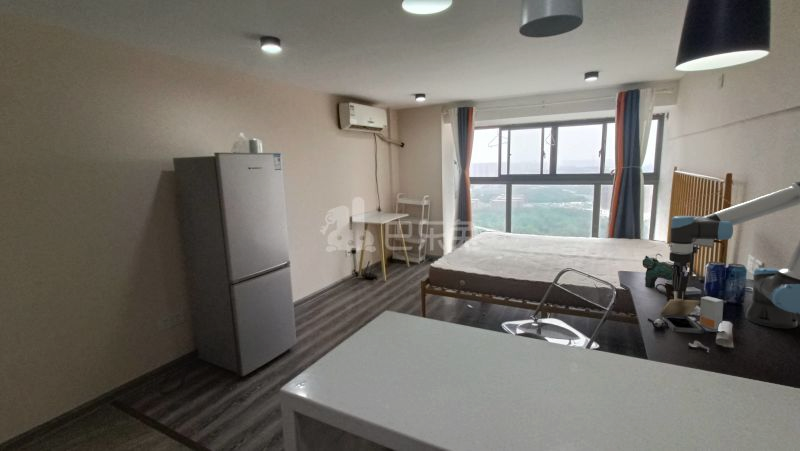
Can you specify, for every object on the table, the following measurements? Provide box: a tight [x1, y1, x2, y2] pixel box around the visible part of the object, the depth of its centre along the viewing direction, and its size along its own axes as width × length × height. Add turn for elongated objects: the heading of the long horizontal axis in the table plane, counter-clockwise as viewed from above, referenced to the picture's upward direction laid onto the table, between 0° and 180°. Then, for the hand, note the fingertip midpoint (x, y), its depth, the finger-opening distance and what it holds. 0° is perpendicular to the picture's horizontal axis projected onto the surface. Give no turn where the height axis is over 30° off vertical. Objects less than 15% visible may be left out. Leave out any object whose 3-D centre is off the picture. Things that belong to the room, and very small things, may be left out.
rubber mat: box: [695, 320, 718, 333], centre depth 147 cm, size 6×9×1 cm, turn 161°
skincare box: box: [698, 295, 724, 329], centre depth 146 cm, size 6×4×12 cm
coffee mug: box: [655, 280, 686, 303], centre depth 177 cm, size 12×9×10 cm
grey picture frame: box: [660, 314, 705, 334], centre depth 151 cm, size 10×15×2 cm, turn 161°
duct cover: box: [660, 299, 701, 316], centre depth 152 cm, size 10×15×1 cm
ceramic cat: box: [642, 253, 674, 288], centre depth 194 cm, size 20×6×20 cm, turn 17°
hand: (678, 305), depth 153 cm, fingers closed
